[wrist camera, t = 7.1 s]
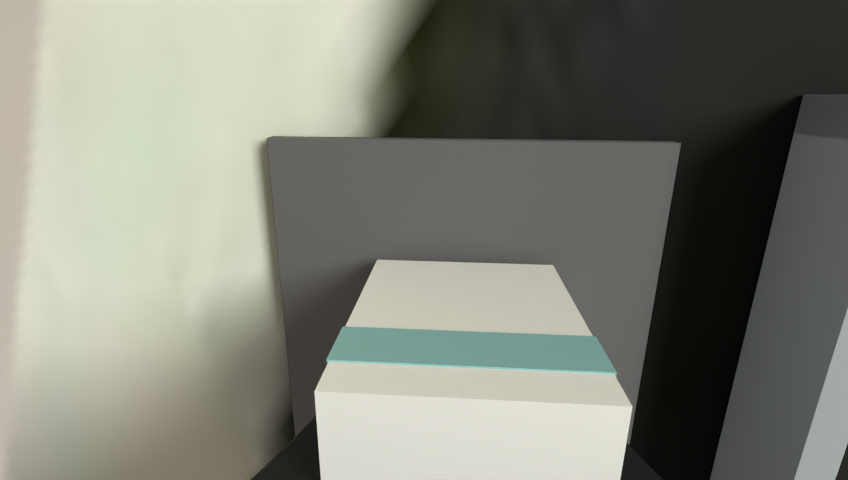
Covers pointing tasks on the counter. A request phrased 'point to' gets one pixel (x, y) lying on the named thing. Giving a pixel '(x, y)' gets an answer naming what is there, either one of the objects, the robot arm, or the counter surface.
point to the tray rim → (797, 319)
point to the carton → (469, 380)
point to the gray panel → (468, 229)
